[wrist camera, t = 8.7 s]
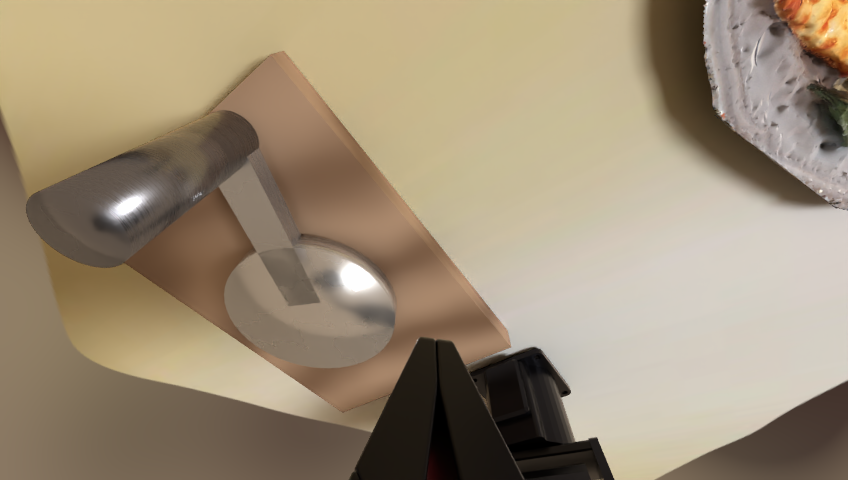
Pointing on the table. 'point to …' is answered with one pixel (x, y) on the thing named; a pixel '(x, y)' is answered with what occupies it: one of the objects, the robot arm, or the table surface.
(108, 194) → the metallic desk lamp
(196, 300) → the stand base
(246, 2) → the table surface
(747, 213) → the table surface
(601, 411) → the table surface
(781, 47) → the food plate
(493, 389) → the robot arm
